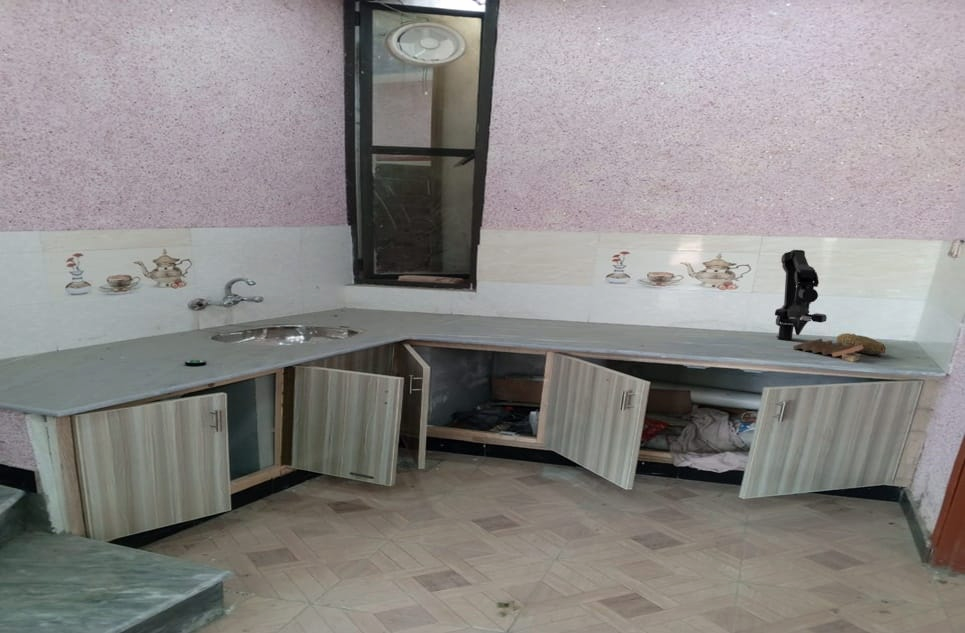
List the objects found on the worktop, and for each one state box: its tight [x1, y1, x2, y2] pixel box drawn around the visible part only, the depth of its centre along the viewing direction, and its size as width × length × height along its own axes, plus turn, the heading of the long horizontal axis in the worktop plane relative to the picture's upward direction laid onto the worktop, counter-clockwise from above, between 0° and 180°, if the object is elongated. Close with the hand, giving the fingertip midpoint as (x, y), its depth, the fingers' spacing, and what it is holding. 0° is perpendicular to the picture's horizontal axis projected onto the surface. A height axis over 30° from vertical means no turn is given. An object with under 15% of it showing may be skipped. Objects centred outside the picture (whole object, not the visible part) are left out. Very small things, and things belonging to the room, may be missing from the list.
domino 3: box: [811, 342, 843, 354], centre depth 241 cm, size 2×5×10 cm
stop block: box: [841, 352, 861, 363], centre depth 235 cm, size 4×8×2 cm, turn 131°
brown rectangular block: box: [792, 338, 824, 351], centre depth 246 cm, size 2×5×10 cm
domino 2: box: [801, 340, 834, 352], centre depth 243 cm, size 2×5×10 cm
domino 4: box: [821, 343, 853, 356], centre depth 238 cm, size 2×5×10 cm
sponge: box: [836, 332, 886, 355], centre depth 248 cm, size 13×8×20 cm
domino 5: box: [831, 345, 864, 358], centre depth 235 cm, size 2×5×10 cm
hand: (797, 335), depth 249 cm, fingers closed
